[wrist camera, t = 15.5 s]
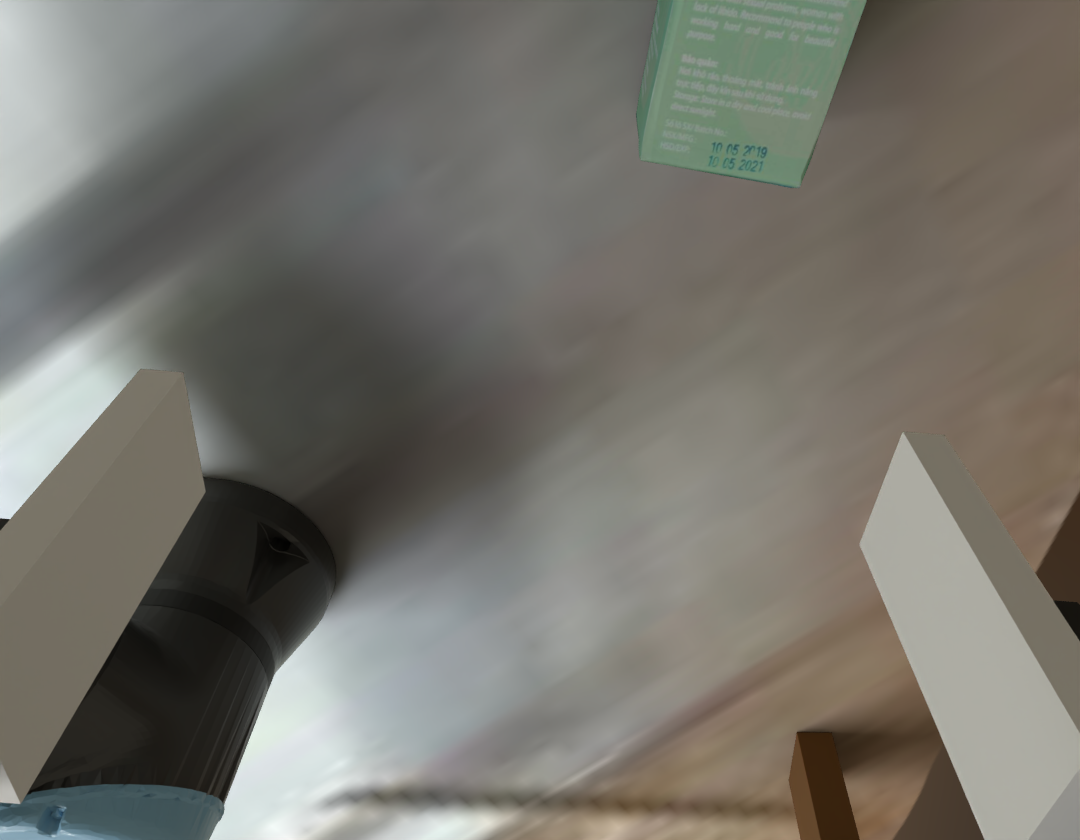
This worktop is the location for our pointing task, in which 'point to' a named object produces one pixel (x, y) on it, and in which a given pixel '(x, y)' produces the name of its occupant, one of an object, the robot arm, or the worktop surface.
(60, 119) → the worktop surface
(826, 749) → the knife
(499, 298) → the worktop surface
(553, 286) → the worktop surface
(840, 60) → the box
